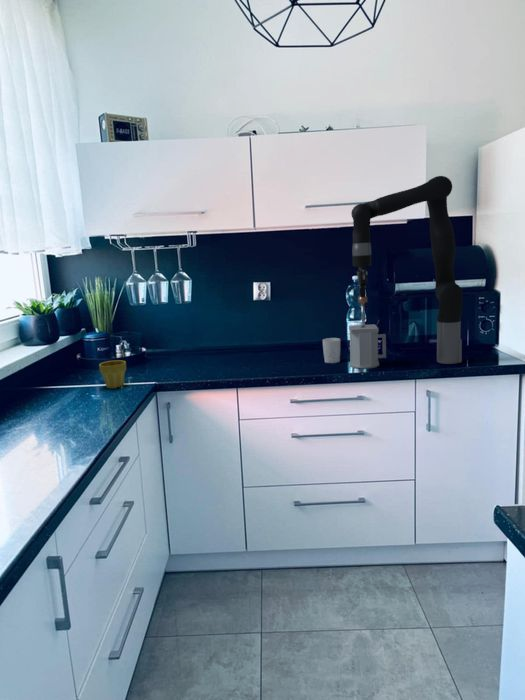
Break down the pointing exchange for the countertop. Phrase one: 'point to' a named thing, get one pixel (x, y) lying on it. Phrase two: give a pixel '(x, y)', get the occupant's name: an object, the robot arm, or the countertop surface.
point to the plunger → (362, 301)
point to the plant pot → (113, 373)
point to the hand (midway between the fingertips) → (362, 296)
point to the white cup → (331, 350)
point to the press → (365, 346)
